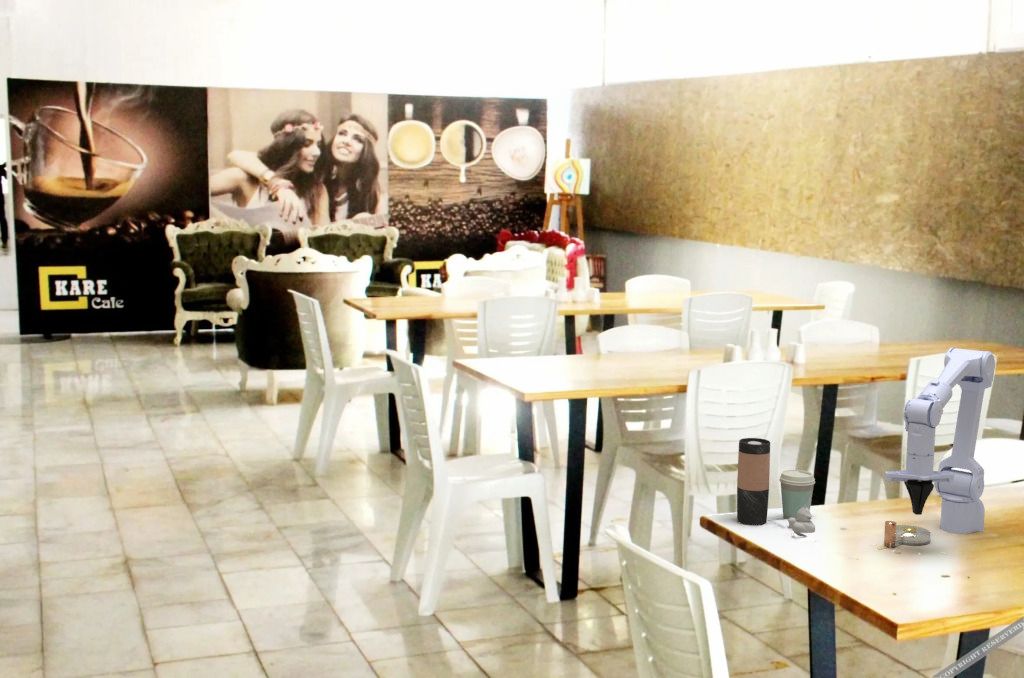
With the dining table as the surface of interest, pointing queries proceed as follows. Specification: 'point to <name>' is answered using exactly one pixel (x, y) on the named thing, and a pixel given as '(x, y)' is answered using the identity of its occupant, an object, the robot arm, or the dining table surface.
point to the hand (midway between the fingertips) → (917, 513)
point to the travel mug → (753, 481)
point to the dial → (904, 535)
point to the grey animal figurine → (802, 522)
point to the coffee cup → (796, 491)
